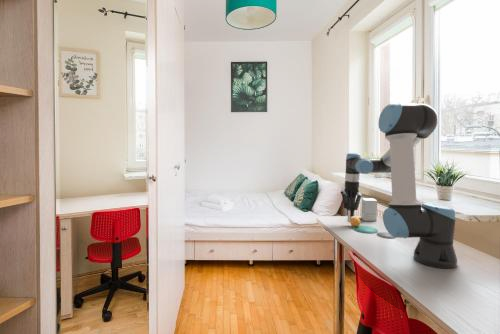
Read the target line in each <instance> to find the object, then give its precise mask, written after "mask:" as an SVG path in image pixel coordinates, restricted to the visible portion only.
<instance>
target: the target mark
mask: <svg viewBox="0 0 500 334" xmlns="http://www.w3.org/2000/svg"><path fill="white" fill-rule="evenodd" d="M352 230H353V231H355V232H358V233H362V234H377V233H379V230H378V229H377V228H376V227H373V226H368V225H359V226H358V227H353V226H352Z"/></svg>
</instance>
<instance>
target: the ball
mask: <svg viewBox="0 0 500 334" xmlns="http://www.w3.org/2000/svg"><path fill="white" fill-rule="evenodd" d="M349 223H350V225H351V226H352V228H353V227H358V226H361V219H360V218H359V217H356V216H353V218H351V220H350V222H349Z"/></svg>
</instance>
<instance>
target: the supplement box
mask: <svg viewBox="0 0 500 334" xmlns="http://www.w3.org/2000/svg"><path fill="white" fill-rule="evenodd" d="M360 210H361V211H360V212H361V213H360V217H361V219H362V220H363V221H365V222H366V221H367V222H377V221H378V220H377V217H378V216H377V215H378V200H377V199H376V198H373V197H361V209H360Z"/></svg>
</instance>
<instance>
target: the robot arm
mask: <svg viewBox="0 0 500 334" xmlns="http://www.w3.org/2000/svg"><path fill="white" fill-rule="evenodd" d="M438 116H439V115H438V113H437V112H436V110H435V109H434V108H433V107H432V106H430V105H428V104H426V103H401V102H398V103H397V102H396V103H390V104H387V105H385V106H384V108H383V109H382V110H381V112H380V114H379V118H378V123H377V124H378V129H379V131H381V132H382V134H383V133H384V134H385V135H384V136H385V140H387V141H388V143H389V149H388V150H387V151H386V152H385V153H384V155H383V156H382V157H381V158H380V157H379V158H363V157H361V156H362V155H361V153H356V152H355V153H354V152H353V153H349V152H348V153H346V158H345V173H344V174H345V175H344V176H345V178H344V179H345V181H344V187H345V188H344V189H343V190H342V191H340V194H341V197H342V203H343V208H344V209H346V215H347V222H348V223H350V220H351V218H353V217H355V211H357V210H358V209H359V206H360V202H361V200H362V198H363V196H364V195H363V194H361V193H360V191H359V186H360V182H359V181H360V174H362V175H363V174H364V175H367V174H375V173H376V174H377V173H378V174H379V173H380V174H381V173H384V174H385V173H386V174H390V175H391V178H390V179H391V182H390V183H391V195H392V198H391V200H390V201H389V202H388V207H387V208H386V209H385V210H384V211H383V213H382V220H383V221H382V222H383V225H384V228H385V230H386V232H387V233H389V234H390V235H392V236H393V237H396V238H397V239H398V238H399V239H402V238H403V239H407V238H411V239H412V238H419V240H418V241H417V244H416V246H415V249H414V250H413V259H415V261H416V262H418V263H420V264H423V265H425V266H429V267H432V268H437V269H438V268H439V269H454V268H456V267H457V266H458V258H457V253H456V251H455V248H454V238H455V236H454V235H455V225H456V220H457V219H456V211H455V210H454V209H453V208H451V207H448V206H445V205H441V204H436V203H428V202H423V203H421V202H420V201H418V199H417V190H416V189H417V188H416V187H417V186H416V184H417V183H416V173H415V171H416V170H415V169H416V168H415V152H414V151H415V150H414V148H415V147H416V146H417V145H418V144H419V143H420V142H421V140H424V139H427V138H429V137H430V136H431V135H432V133H434V131H435V129H436V128H437V126H438V121H439V117H438ZM396 238H395V239H396Z"/></svg>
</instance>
